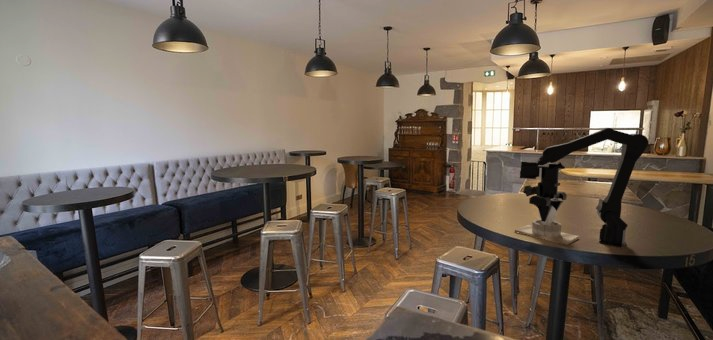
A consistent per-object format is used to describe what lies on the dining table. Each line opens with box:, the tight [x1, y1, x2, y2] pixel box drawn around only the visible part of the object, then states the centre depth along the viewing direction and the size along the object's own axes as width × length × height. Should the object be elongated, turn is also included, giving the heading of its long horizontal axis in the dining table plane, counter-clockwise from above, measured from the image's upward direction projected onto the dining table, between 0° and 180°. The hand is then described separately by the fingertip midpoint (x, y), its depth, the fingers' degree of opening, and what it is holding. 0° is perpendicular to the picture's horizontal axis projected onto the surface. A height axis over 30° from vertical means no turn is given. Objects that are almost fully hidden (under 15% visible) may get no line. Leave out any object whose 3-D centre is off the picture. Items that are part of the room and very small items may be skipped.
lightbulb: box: [537, 206, 558, 226], centre depth 131 cm, size 6×6×11 cm
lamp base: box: [514, 218, 580, 246], centre depth 131 cm, size 19×11×5 cm, turn 38°
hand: (547, 219), depth 131 cm, fingers closed on lightbulb, 6 cm apart
